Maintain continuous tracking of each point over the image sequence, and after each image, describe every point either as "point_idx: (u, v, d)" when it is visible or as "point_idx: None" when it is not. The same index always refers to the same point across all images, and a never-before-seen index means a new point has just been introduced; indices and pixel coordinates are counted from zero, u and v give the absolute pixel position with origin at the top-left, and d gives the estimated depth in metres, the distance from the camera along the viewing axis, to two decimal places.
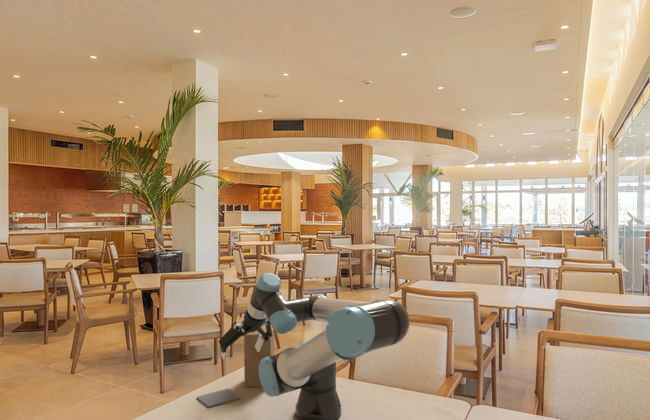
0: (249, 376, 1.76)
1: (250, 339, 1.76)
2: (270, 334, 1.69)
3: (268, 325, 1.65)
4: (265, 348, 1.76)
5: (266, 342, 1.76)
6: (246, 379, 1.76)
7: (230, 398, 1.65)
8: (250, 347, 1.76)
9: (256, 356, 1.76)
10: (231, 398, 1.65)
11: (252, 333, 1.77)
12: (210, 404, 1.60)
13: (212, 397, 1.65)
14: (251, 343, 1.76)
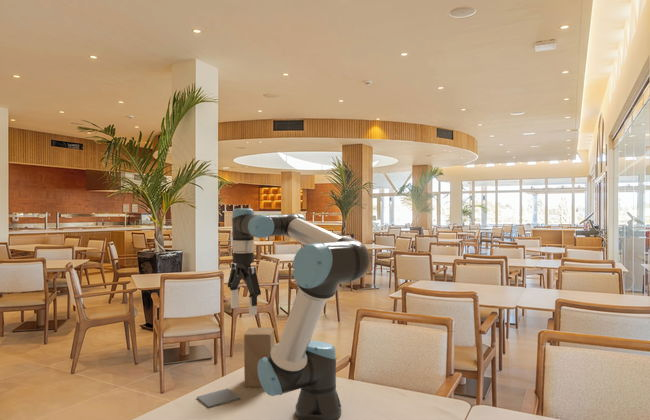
0: (249, 376, 1.76)
1: (250, 339, 1.76)
2: (252, 290, 1.59)
3: (248, 273, 1.61)
4: (265, 348, 1.76)
5: (266, 342, 1.76)
6: (246, 379, 1.76)
7: (230, 398, 1.65)
8: (250, 347, 1.76)
9: (256, 356, 1.76)
10: (231, 398, 1.65)
11: (252, 333, 1.77)
12: (210, 404, 1.60)
13: (212, 397, 1.65)
14: (251, 343, 1.76)
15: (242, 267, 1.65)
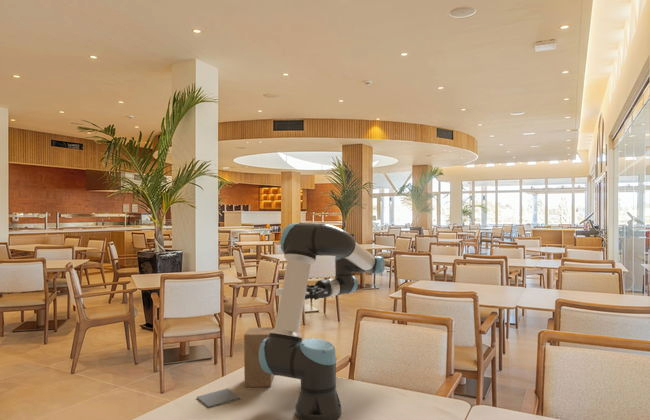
0: (249, 376, 1.76)
1: (250, 339, 1.76)
2: (316, 292, 1.86)
3: (322, 289, 1.92)
4: None
5: None
6: (246, 379, 1.76)
7: (230, 398, 1.65)
8: (250, 347, 1.76)
9: (256, 356, 1.76)
10: (231, 398, 1.65)
11: (252, 333, 1.77)
12: (210, 404, 1.60)
13: (212, 397, 1.65)
14: (251, 343, 1.76)
15: (318, 287, 1.97)
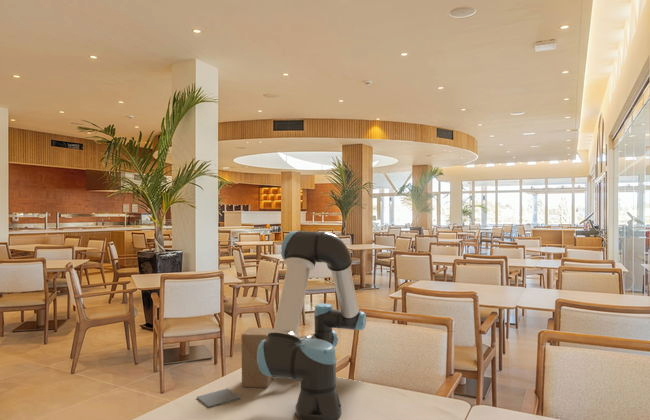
0: (246, 375, 1.76)
1: (247, 339, 1.76)
2: None
3: None
4: None
5: None
6: (243, 379, 1.76)
7: (230, 398, 1.65)
8: (247, 347, 1.76)
9: (253, 356, 1.75)
10: (231, 398, 1.65)
11: (249, 333, 1.77)
12: (210, 404, 1.60)
13: (212, 397, 1.65)
14: (248, 343, 1.76)
15: None
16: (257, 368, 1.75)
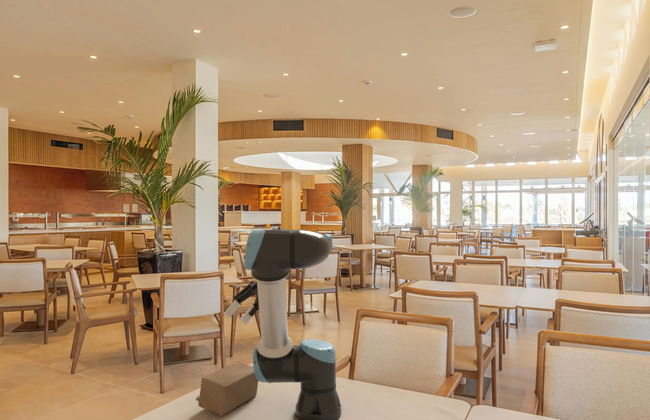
0: None
1: None
2: None
3: None
4: None
5: None
6: None
7: None
8: None
9: None
10: None
11: (205, 405, 1.54)
12: None
13: None
14: None
15: None
16: None
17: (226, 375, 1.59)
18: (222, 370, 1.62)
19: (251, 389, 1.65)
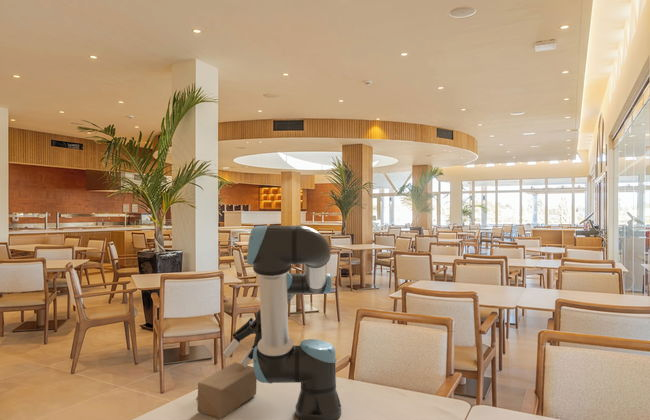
0: None
1: None
2: None
3: None
4: None
5: None
6: None
7: None
8: None
9: None
10: None
11: (204, 409, 1.53)
12: None
13: None
14: None
15: (260, 323, 1.76)
16: None
17: (222, 377, 1.58)
18: (218, 373, 1.61)
19: (250, 389, 1.64)
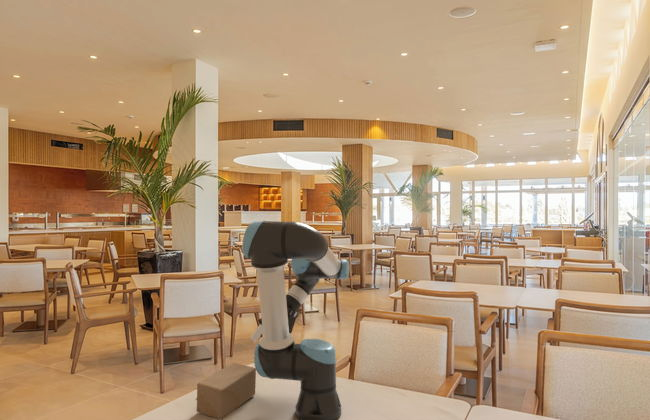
0: None
1: None
2: None
3: (290, 314, 1.78)
4: None
5: None
6: None
7: None
8: None
9: None
10: None
11: (203, 410, 1.53)
12: None
13: None
14: None
15: (286, 309, 1.83)
16: None
17: (222, 378, 1.58)
18: (217, 373, 1.61)
19: (249, 389, 1.64)
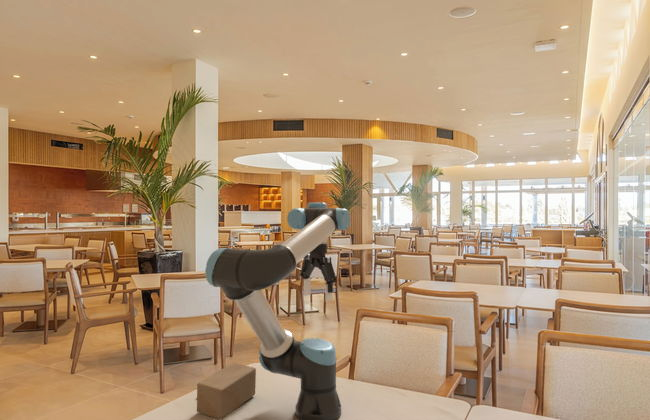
0: None
1: None
2: (329, 278, 1.71)
3: (325, 263, 1.73)
4: None
5: None
6: None
7: None
8: None
9: None
10: None
11: (203, 410, 1.53)
12: None
13: None
14: None
15: (317, 257, 1.77)
16: None
17: (222, 378, 1.58)
18: (217, 373, 1.61)
19: (249, 389, 1.64)
